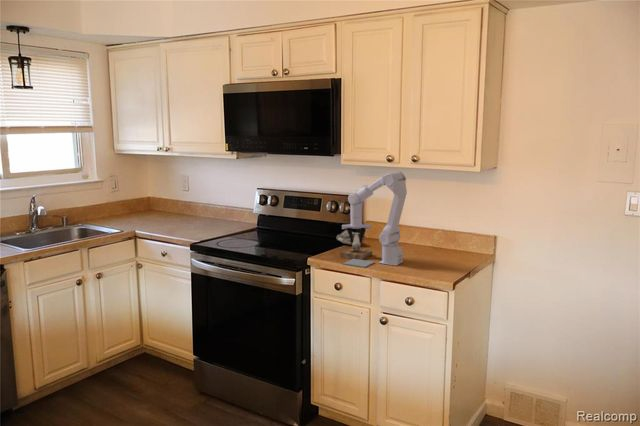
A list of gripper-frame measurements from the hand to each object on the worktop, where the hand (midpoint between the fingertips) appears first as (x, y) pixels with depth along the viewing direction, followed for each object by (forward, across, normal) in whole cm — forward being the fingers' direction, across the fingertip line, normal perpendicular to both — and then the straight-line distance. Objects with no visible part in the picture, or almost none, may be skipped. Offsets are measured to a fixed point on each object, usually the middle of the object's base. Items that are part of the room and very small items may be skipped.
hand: (356, 242), depth 260 cm
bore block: (+7, 0, 0) cm, 7 cm away
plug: (+3, 0, 0) cm, 3 cm away
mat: (+7, -1, +14) cm, 16 cm away
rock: (+7, +2, -28) cm, 29 cm away
